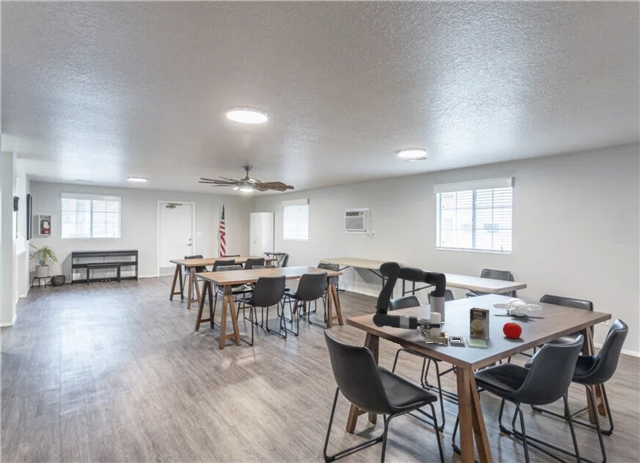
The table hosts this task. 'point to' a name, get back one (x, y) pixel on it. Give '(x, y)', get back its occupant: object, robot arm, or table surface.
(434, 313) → the white tall block
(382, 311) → the robot arm
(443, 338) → the cubby
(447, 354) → the table surface
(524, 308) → the white quadcopter drone
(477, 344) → the pad
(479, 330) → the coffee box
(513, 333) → the tomato
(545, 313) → the table surface
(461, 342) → the hole plate
